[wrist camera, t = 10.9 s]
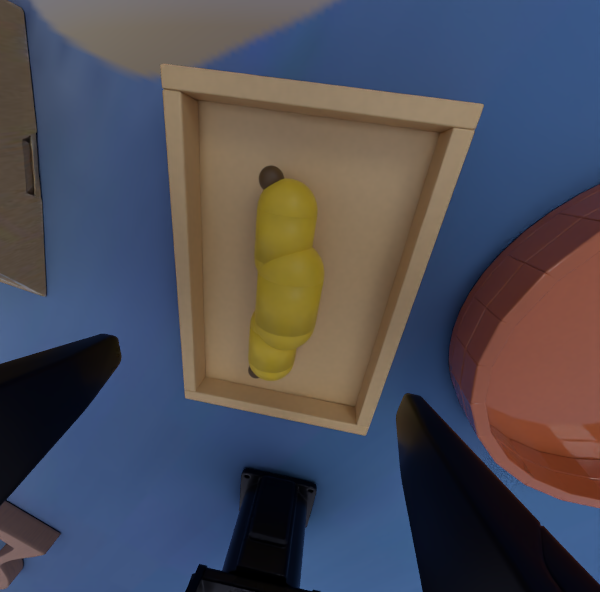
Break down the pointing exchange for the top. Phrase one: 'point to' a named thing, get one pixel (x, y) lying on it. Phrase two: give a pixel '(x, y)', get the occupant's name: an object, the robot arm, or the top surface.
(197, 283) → the tray
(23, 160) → the sandwich container
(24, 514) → the wood carving
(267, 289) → the banana
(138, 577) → the top surface
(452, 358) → the bowl
